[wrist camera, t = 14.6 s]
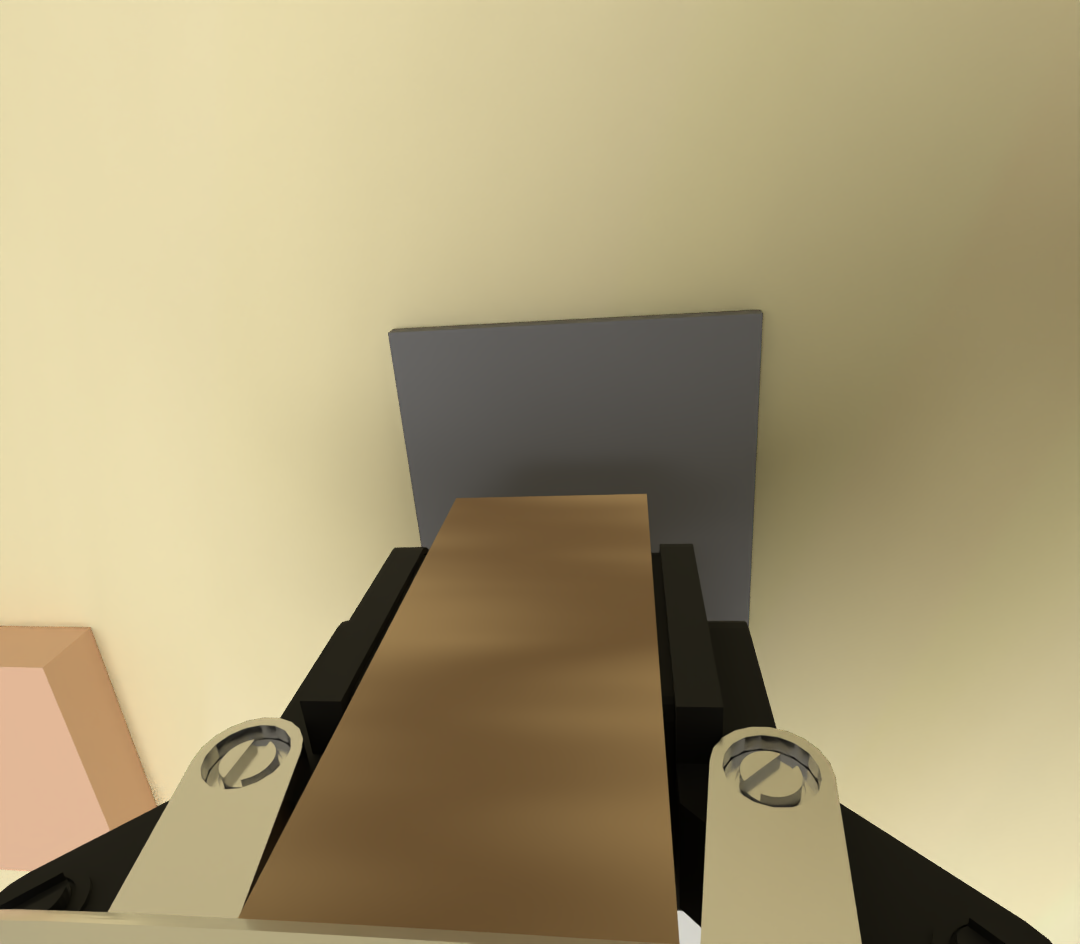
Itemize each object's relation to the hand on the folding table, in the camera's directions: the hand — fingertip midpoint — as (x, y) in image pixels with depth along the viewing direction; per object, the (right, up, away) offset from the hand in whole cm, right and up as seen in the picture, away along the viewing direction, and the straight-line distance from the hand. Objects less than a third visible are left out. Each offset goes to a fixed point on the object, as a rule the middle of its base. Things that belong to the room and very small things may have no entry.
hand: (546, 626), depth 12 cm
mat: (+1, -1, +6) cm, 7 cm away
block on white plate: (0, -3, +3) cm, 4 cm away
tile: (-18, -2, +8) cm, 20 cm away
